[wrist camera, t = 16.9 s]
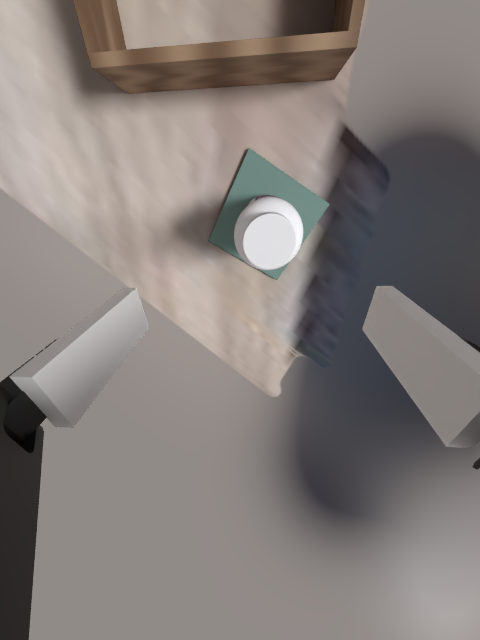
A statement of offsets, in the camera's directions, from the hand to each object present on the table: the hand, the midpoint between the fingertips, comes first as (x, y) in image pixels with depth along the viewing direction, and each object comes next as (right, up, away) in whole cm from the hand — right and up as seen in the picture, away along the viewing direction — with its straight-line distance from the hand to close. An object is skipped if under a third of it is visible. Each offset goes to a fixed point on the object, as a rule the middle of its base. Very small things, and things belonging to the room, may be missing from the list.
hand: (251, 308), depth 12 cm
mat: (+3, +15, +22) cm, 27 cm away
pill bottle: (+4, +15, +22) cm, 27 cm away
